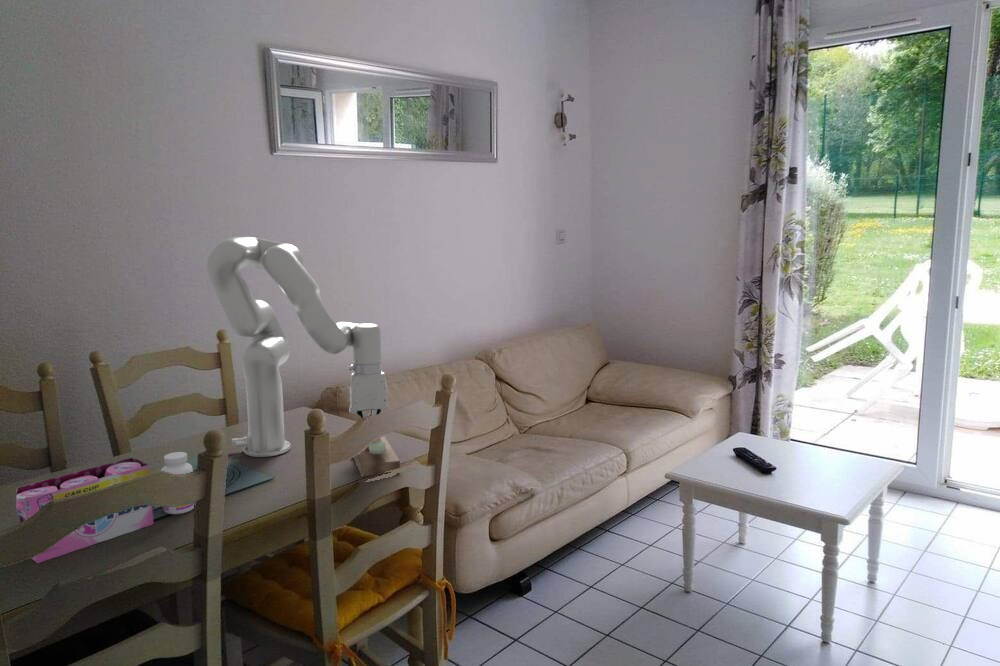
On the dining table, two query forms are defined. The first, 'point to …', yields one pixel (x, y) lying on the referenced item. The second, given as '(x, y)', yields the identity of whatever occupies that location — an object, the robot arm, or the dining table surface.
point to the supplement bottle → (177, 466)
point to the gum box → (81, 483)
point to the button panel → (377, 461)
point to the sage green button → (377, 447)
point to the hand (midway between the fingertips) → (369, 431)
